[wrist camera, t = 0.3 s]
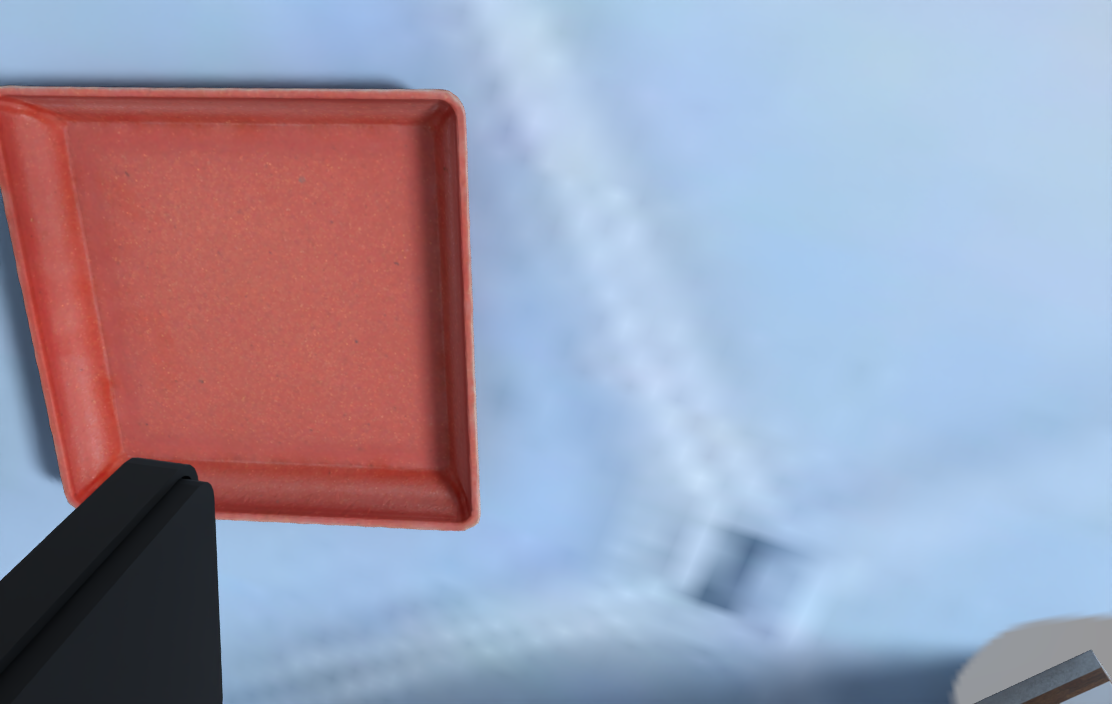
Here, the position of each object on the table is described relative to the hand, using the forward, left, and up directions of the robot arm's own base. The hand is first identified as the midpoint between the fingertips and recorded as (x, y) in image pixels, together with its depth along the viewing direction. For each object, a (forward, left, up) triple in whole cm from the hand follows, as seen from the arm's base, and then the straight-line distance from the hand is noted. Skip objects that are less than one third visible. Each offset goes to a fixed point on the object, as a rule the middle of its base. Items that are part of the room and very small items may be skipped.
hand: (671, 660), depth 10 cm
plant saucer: (+10, -15, -31) cm, 36 cm away
